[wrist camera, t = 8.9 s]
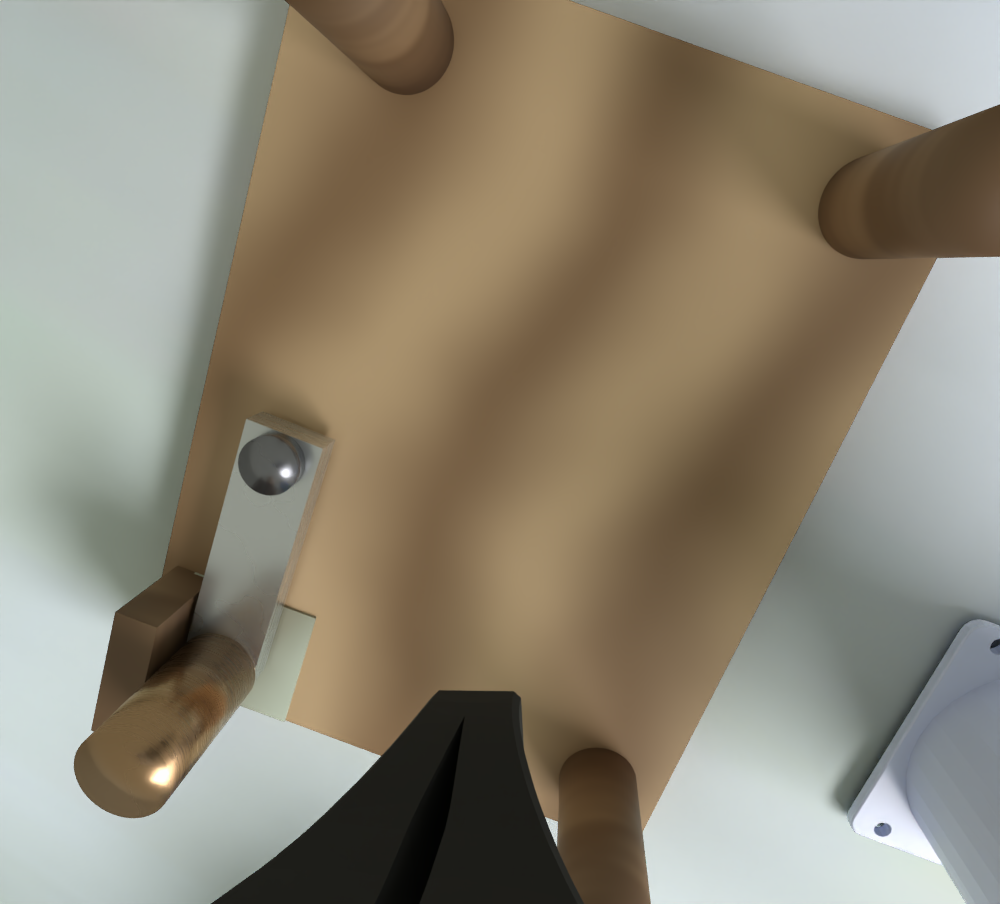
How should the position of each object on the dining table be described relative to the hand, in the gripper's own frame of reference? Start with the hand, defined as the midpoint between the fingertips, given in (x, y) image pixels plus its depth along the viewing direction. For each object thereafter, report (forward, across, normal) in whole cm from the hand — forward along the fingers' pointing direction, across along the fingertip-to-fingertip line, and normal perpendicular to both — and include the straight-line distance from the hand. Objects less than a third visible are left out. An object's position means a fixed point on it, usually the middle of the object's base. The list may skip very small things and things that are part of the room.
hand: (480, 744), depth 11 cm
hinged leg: (+9, +8, +1) cm, 12 cm away
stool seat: (+10, +1, -2) cm, 11 cm away
